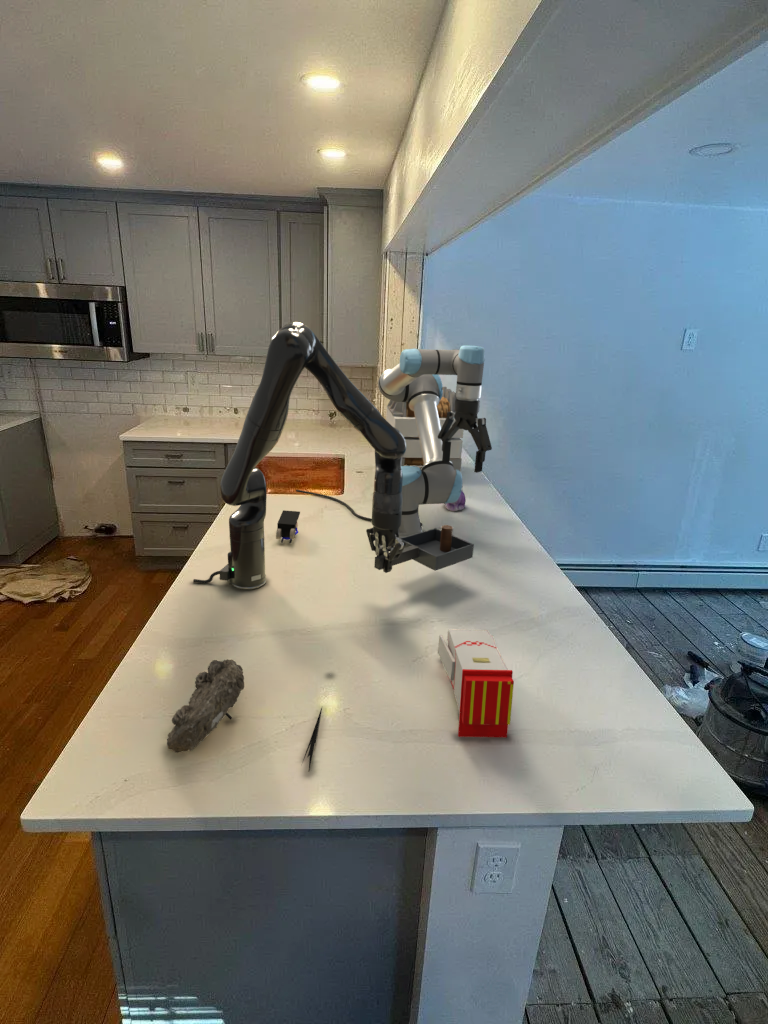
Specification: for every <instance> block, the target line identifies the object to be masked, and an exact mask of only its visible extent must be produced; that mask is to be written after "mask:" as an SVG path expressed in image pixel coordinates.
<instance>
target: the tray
mask: <svg viewBox="0 0 768 1024" xmlns="http://www.w3.org/2000/svg"><path fill="white" fill-rule="evenodd" d="M399 539H400V540H401V541H402V542H406V546H405V548H404V550H403V551H402V553H401V555H400V556H399V558H397V559H394V560H393V561H392V567H393V566H396V565H397V566H398V565H400V564H402V563H405V562H408V561H412V560H413V561H414V562H417V563H419V564H421V565H422V566H424V567H427V568H429V569H430V570H432V571H436V572H437V571H439V570H442V569H444V568H447V567H450V566H453V565H455V564H459V563H461V562H464V561H468V560H470V559H473V555H474V547H475V543H471V542H469V541H467V540H464V539H462V538H460V537H458V536H456V535H453V534H452V543H451V551H449V552H443V551H441V550H440V539H441V529H439V528H437V527H434V528H430V529H427V530H424V531H423V530H422V532H420V533H416V534H413V535H410V536H406V537H403V538H399ZM389 554H390V552H389ZM383 567H384V554H383V555H380V556H377V555H376V556H374V569H376V570H378V571H381V570H383Z"/></svg>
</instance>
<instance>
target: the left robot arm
mask: <svg viewBox="0 0 768 1024" xmlns="http://www.w3.org/2000/svg"><path fill="white" fill-rule="evenodd" d="M304 369H306V370H307V371H308V372H310V373H311V375H313V376H314V378H315V379H316V380H317V381H318V383H319V384H320V386H321V387H322V388H323V390H324V391H325V394H326V395H327V397H328V398H329V400H330V402H331V404H332V405H333V406H334V408H335V410H336V411H337V412H338V413H339V415H341V417H343V418H344V419H345V420H346V422H347V423H349V425H351V426H352V427H353V428H354V430H356V431H357V432H358V433H359V434H360V435H362V437H364V439H365V440H366V441H367V442H368V444H369V445H370V446H371V447H372V448H373V449H374V464H375V466H374V467H375V471H374V478H373V479H374V480H373V481H374V483H373V494H372V503H371V504H372V505H371V519H372V521H371V525H372V526H373V527H370V528H367V529H366V530H365V532H366V535H367V540H368V543H369V546H370V550H371V551H372V552H374V553H375V556H376V557H377V556H380V555H383V554H384V567H383V569H382V572H383V573H385V574H387V573H390V572H391V571H393V566H392V561H393V560H394V559H397V558H399V556H400V555H401V553H402V551H403V550H404V548H405V546H406V542H402V541H401V540H400V539H399V532H398V529H399V527H400V526H401V518H402V500H403V499H402V484H403V473H402V469H401V458H402V456H403V455H404V454H405V451H406V441H405V438H404V437H403V435H402V434H401V432H400V431H399V430H398V429H397V428H395V427H393V426H392V425H391V424H390V423H389V422H387V421H386V418H385V417H383V415H382V414H381V412H380V411H379V410H378V408H377V407H376V406H375V405H374V404H373V403H372V402H371V401H370V400H369V399H368V397H366V395H364V394H363V393H362V392H361V390H359V388H357V386H356V385H355V383H353V382H352V381H351V380H350V378H348V376H347V375H346V374H345V373H344V372H343V370H342V369H341V368H340V366H339V365H338V364H337V362H336V361H335V360H334V359H333V357H332V356H331V355H330V353H329V352H328V351H327V350H326V348H325V346H324V345H323V343H322V342H321V341H320V339H319V338H318V336H317V335H316V334H315V333H314V332H313V330H312V329H311V328H310V327H309V326H308V325H307V324H305V323H302V322H300V321H291V322H288V323H286V324H284V325H283V326H282V327H281V328H280V329H279V330H278V331H277V332H276V333H275V334H274V335H273V336H272V337H271V339H270V342H269V344H268V348H267V353H266V357H265V363H264V367H263V372H262V376H261V379H260V382H259V384H258V387H257V389H256V391H255V393H254V395H253V398H252V401H251V403H250V405H249V408H248V410H247V413H246V416H245V418H244V419H245V420H244V422H243V424H242V429H241V431H240V435H239V437H238V440H237V443H236V445H235V448H234V451H233V453H232V454H231V455H232V456H231V457H230V460H229V462H228V463H227V465H226V468H225V470H224V472H223V474H222V475H221V479H220V484H219V485H220V486H219V491H220V492H219V493H220V497H221V498H222V500H223V502H224V503H225V504H226V505H228V506H231V507H237V506H239V507H238V508H237V509H236V510H234V512H233V513H231V515H230V516H229V517H228V518H229V519H228V531H229V548H230V549H229V550H230V551H229V552H228V553H227V564H226V565H224V566H223V567H222V568H221V569H220V570H217V571H214V572H212V573H211V574H210V575H209V578H208V579H205V580H204V579H196V578H193V580H192V581H193V583H197V584H204V585H205V584H209V583H210V582H212V581H213V579H214V577H215V576H219V580H220V581H225V582H226V581H227V582H228V585H230V586H232V587H234V588H235V589H238V590H245V591H246V590H247V591H249V590H256V589H259V588H261V587H263V586H265V584H266V583H267V578H266V577H267V575H266V553H265V552H266V550H265V549H266V548H265V546H266V545H265V519H266V515H267V497H268V496H267V495H268V494H267V493H268V491H267V490H268V489H267V482H266V477H265V475H264V473H263V472H262V470H261V469H259V468H258V467H257V465H259V464H260V462H261V461H263V459H265V457H266V456H267V455H268V454H269V453H270V452H271V451H272V450H273V449H274V447H276V446H277V444H278V442H279V440H280V438H281V436H282V433H283V432H284V428H285V427H286V426H285V425H286V423H287V419H288V415H289V408H290V399H291V395H292V392H293V390H294V388H295V386H296V384H297V382H298V380H299V378H300V376H301V374H302V372H303V371H304ZM389 553H390V554H389Z"/></svg>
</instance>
